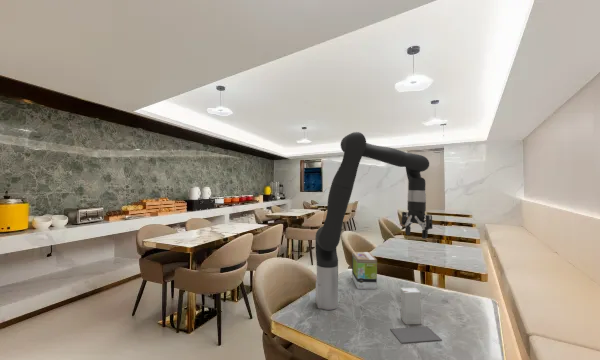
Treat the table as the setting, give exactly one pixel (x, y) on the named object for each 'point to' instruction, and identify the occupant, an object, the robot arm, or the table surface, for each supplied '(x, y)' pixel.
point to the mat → (415, 334)
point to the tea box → (364, 270)
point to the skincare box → (410, 306)
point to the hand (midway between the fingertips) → (416, 236)
